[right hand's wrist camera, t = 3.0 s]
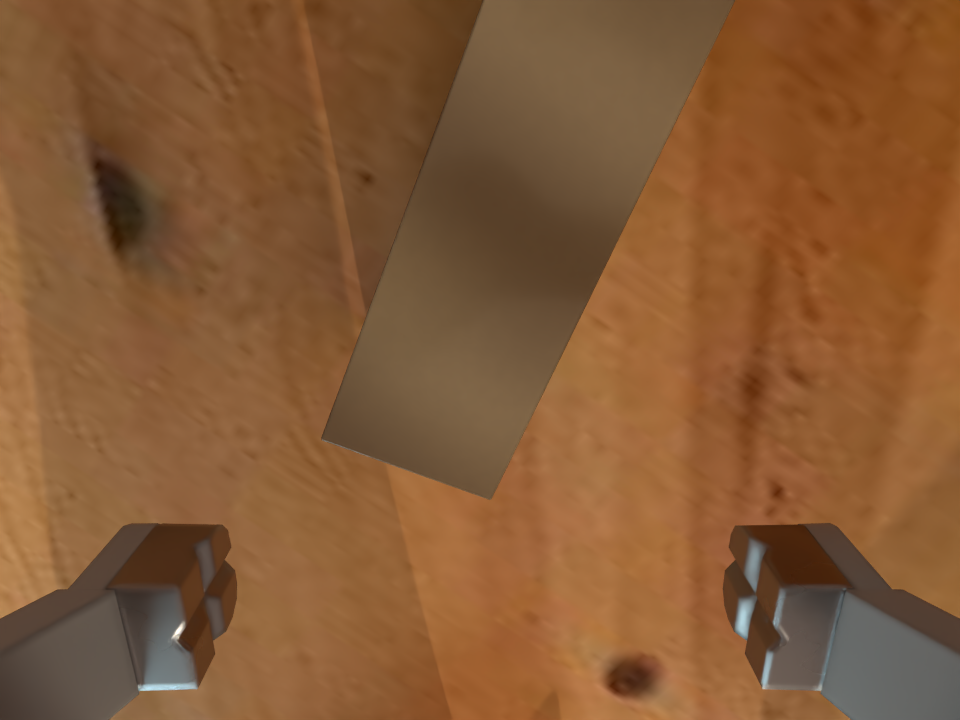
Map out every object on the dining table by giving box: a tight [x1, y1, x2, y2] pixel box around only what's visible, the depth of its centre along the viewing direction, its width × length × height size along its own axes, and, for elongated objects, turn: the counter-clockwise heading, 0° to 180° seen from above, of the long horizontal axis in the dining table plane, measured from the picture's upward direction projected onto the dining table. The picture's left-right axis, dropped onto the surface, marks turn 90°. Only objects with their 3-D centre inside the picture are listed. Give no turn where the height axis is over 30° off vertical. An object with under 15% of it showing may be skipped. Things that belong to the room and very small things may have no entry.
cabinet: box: [321, 0, 735, 500], centre depth 22 cm, size 18×6×10 cm, turn 157°
